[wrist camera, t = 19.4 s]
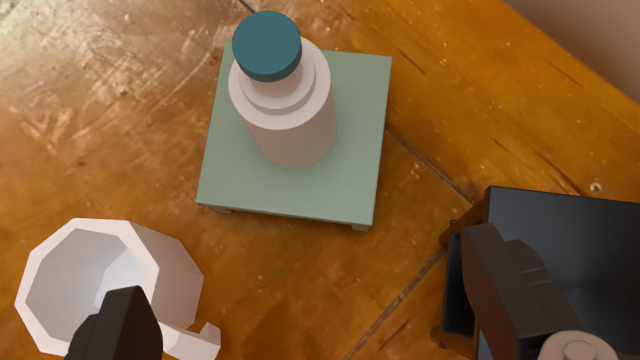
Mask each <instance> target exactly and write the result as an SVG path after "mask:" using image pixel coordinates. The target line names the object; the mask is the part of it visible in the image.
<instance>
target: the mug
mask: <svg viewBox="0 0 640 360" xmlns="http://www.w3.org/2000/svg"><path fill="white" fill-rule="evenodd" d="M203 281H204V275H203V274H202V272H201V271H200V269H199V268H198V266H197V265H196V264H195V262H194V261H193V259H192V258H191V256H190V255H189V253H188V252H187V251H186V249H185V248H184V246H183V245H182V243H181V242H180V240H178V239H176V238H173V237H170V236H168V235H165V234H162V233H159V232H157V231H154V230H151V229H149V228H146V227H143V226H141V225H138V224H135V223H133V222H130V221H126V220H104V219H83V218H73V219H72V220H71V221H69V222H68V223H67V224H66V225H64V226H63V227H62V228H60V229H59V230H58V231H57V232H55V233H54V234H53V235H52V236H50V237H49V238H48V239H46V240H45V241H44V242H43V243H41V244H40V245H39V246H38V247H36V248H35V249H34V250H33V251H31V252H30V255H29V258H28V261H27V265H26V268H25V271H24V275H23V278H22V281H21V284H20V288H19V291H18V294H17V298H16V301H15V304H14V306H15V307H16V309H17V311H18V313H19V314H20V316H21V318H22V320H23V322H24V323H25V325H26V327H27V329H28V330H29V332H30V334H31V336H32V337H33V339H34V341H35V343H36V345H37V346H38V348H39V350H40V352H45V353H50V354H55V355H60V356H66V354H68V348H69V346H70V343H71V340H72V338H73V335H74V333H75V331H76V330H77V329H78V328H79V326H80V325H81V324H82V323H83V322H84V320H85V319H86V318H87V317H88V316H89V315H91V314H97V313H99V310H100V307H101V305H102V302H103V299H104V296H105V294H106V292H107V291H109V290H113V289H119V288H124V287H130V286H135V285H139V286H141V287H142V289H143V290H144V292H145V295H146V297H147V299H148V301H149V303H150V306H151V308H152V310H153V312H154V314H155V317H156V319H157V321H158V323H159V325H160V328H161V331H162V336H163V351H164V352H165V353H167V354H169V355H171V356H173V357H176V358H178V359H180V360H215V358H216V356H217V354H218V351H219V349H220V347H221V335H220V329H219V328H217V327H215V326H214V325H212V324H210V323H209V322H207V323H206V324H205V326H204V327H203V329H202V330H201V331H200V333H199V334H197V333H194V332H191V331H188V330H185V329H187V328H188V327H189V326H191V325H192V324H193V323H194V320H195V316H196V312H197V307H198V303H199V299H200V294H201V290H202V286H203Z"/></svg>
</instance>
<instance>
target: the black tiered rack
mask: <svg viewBox="0 0 640 360" xmlns="http://www.w3.org/2000/svg"><path fill="white" fill-rule="evenodd" d="M490 222H492V223H493V224H494V225H495V226H496V228H497V230H498V232H499V233H500V235H501V237H502V239H503V240H504V241H510V240H515V239H519V240H521V241H522V242H524V243H525V244H526V245H528V246H529V247H531V248H532V249H534V250H535V251H536V252H537V254H538V255H539V257H540V259H541V260H542V262H543V263H544V265H545V266H546V270H548V271H549V273H550V274H551V276H552V277H553V279H554V283H556V284H557V285H558V287H559V289H560V290H561V292H562V293H563V295H564V296H565V298H566V300H567V301H568V303H569V304H570V306H571V307H572V309H573V311H574V312H575V314H576V315H577V317H578V319H579V320H580V322H581V323H582V325H583V326H584V328H585V329H586V331H587V332H588V333H590V334H593V335H595V336H597V337H599V338H601V339H602V340H604V341H605V342H606V343H608V344H609V345H610V346H611V347H612V349H613V350H615V351H618V352H621V353H625V354H631V355H639V356H640V203H633V202H625V201H617V200H608V199H600V198H592V197H584V196H575V195H567V194H559V193H550V192H542V191H534V190H525V189H517V188H509V187H500V186H492V185H491V186H489V187H488V188H487V189H486V190H485V197H483V198H482V199H481V200H480V201H479V202H478V203H476V204H475V205H474V206H473V207H472V208H471V209H470V210H468V211H467V212H466V213H465V214H464V215H463V216H461V217H460V218H459V219H458V220H452V221H450V227H449V228H448V229H446V230H445V231H444V232H443V233H442V234H441V235H440V237H439V241H440V244H441V245H442V246H443V247H446V248H448V249H447V260H446V271H445V282H444V293H443V304H442V315H441V326H436V327H434V328H433V329H432V330H431V332H430V337H431V339H432V341H433V342H434V343H436V344H439V347H440V348H445V349H449V350H452V351H454V352H456V353H458V354H460V355H462V356H465V357H467V358H469V359H471V360H494V359H493V357H492V355H491V352H490V350H489V347H488V345H487V343H486V340H485V338H484V336H483V333H482V331H481V329H480V326H479V324H478V321H477V319H476V317H475V314H474V312H473V310H472V307H471V305H470V303H469V300H468V297H467V294H466V291H465V287H464V282H463V275H462V254H461V228H462V227H468V226H474V225H479V224H485V223H490Z"/></svg>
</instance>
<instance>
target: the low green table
mask: <svg viewBox="0 0 640 360" xmlns="http://www.w3.org/2000/svg"><path fill="white" fill-rule="evenodd" d="M319 50H320V51H321V52H322V53H323V55H324V56H325V58H326V60H327V62H328V65H329V68H330V73H331V81H332V90H333V99H334V107H335V116H336V127H337V129H336V136H335V140H334V143H333V145H332V147H331V148H330V150H329V151H328V153H327V154H326V155H325V156H324V157H323V158H322V159H320V160H319V161H317V162H316V163H314V164H312V165H309V166H306V167H302V168H288V167H283V166H280V165H278V164H276V163H274V162H272V161H271V160H269V159H268V158H267V157H266V156H265V155H264V154H263V153H262V151H261V149H260V148H259V146H258V145H257V143H256V141H255V140H254V138H253V137H252V135H251V133H250V132H249V130H248V128H247V127H246V125H245V123H244V122H243V120H242V119H241V117H240V115H239V114H238V112H237V110H236V109H235V107H234V105H233V103H232V101H231V98H230V95H229V90H228V78H229V73H230V69H231V67H232V64H233V62H234V60H235V57H234V54H233V50H232V40H226V41H225V46H224V51H223V56H222V62H221V67H220V72H219V78H218V83H217V88H216V93H215V99H214V104H213V109H212V115H211V120H210V125H209V130H208V136H207V141H206V146H205V152H204V157H203V162H202V168H201V173H200V178H199V183H198V189H197V194H196V199H195V203H196V204H198V205H201V206H208V207H210V208H211V209H213V210H214V211H215V212H218V213H226V214H231V212H232V210H239V211H247V212H255V213H263V214H270V215H278V216H286V217H293V218H301V219H309V220H317V221H324V222H332V223H340V224H348V225H352V230H356V231H364V232H368V229H369V227H372V223H373V215H374V207H375V198H376V190H377V182H378V174H379V165H380V157H381V149H382V140H383V132H384V124H385V116H386V107H387V99H388V91H389V82H390V74H391V66H392V57H390V56H380V55H370V54H360V53H350V52H340V51H331V50H321V49H319Z"/></svg>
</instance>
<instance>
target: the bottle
mask: <svg viewBox="0 0 640 360" xmlns="http://www.w3.org/2000/svg"><path fill="white" fill-rule="evenodd" d="M232 50H233V54H234V57H235V60H234V62H233V64H232V67H231V69H230V73H229V78H228V90H229V95H230V98H231V101H232V103H233V105H234V107H235V109H236V110H237V112H238V114H239V115H240V117H241V119H242V120H243V122H244V123H245V125H246V127H247V128H248V130H249V132H250V133H251V135H252V137H253V138H254V140H255V141H256V143H257V145H258V146H259V148H260V149H261V151H262V153H263V154H264V155H265V156H266V157H267V158H268V159H269V160H271V161H272V162H274V163H276V164H278V165H280V166H283V167H288V168H302V167H306V166H309V165H312V164H314V163H316V162H317V161H319V160H320V159H322V158H323V157H324V156H325V155H326V154H327V153H328V151H329V150H330V148H331V147H332V145H333V143H334V140H335V136H336V129H337V127H336V116H335V107H334V99H333V90H332V81H331V73H330V68H329V65H328V62H327V60H326V58H325V56H324V55H323V53H322V52H321V51H320V50H319V49H318V48H317V47H316V46H315V45H314V44H313V43H312V42H310V41H308V40H307V39H305V38H302V37H300V33H299V30H298V28H297V26H296V25H295V24H294V22H293V21H292V20H291V19H290V18H288V17H287V16H285V15H283V14H281V13H278V12H274V11H262V12H258V13H255V14H252V15H250V16H249V17H247V18H246V19H244V20H243V21H242V22H241V23H240V24H239V26H238V27H237V29H236V30H235V33H234V35H233V39H232Z"/></svg>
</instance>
